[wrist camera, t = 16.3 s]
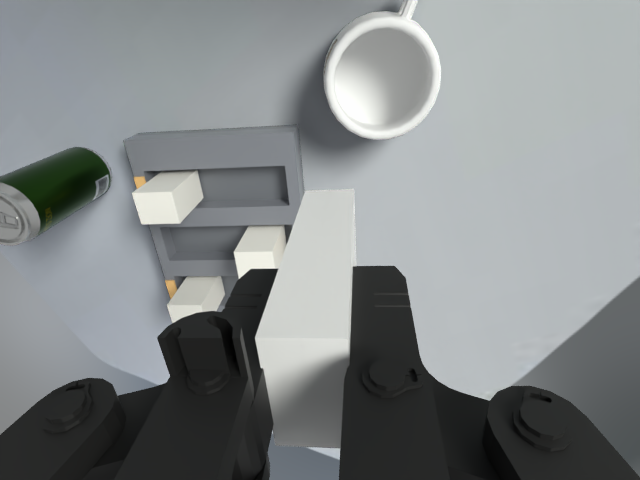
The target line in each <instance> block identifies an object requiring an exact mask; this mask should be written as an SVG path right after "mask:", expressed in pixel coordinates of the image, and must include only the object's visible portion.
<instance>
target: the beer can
mask: <svg viewBox="0 0 640 480" xmlns="http://www.w3.org/2000/svg"><path fill="white" fill-rule="evenodd" d="M111 179H112V174H111V169H110V167H109V165H108V163H107V162H106V160H105V159H104V158H103V157H102V156H101V155H100V154H98V153H97V152H95V151H93V150H90V149H87V148H81V147H74V148H69V149H67V150H64V151H62V152H59V153H57V154H54V155H52V156H50V157H47V158H45V159H42V160H40V161H37V162H35V163H32V164H30V165H28V166H25V167H23V168H20V169H18V170H15V171H13V172H10V173H8V174H6V175H3V176H1V177H0V244H1V245H8V246H13V245H18V244H20V243H22V242H27V241H31V240H32V239H34V238H35V237H37V236H38V235H40V234H41V233H43V232H45V231H46V230H48V229H49V228H51V227H52V226H54V225H56V224H57V223H59V222H60V221H62V220H63V219H65V218H66V217H68V216H70V215H71V214H73V213H74V212H76V211H77V210H79V209H81V208H82V207H84V206H85V205H87V204H88V203H90V202H91V201H93V200H95V199H96V198H98V197H99V196H101V195H102V194H104V193H105V192H107V190H108V188H109V187H110V184H111Z"/></svg>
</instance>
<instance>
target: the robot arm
mask: <svg viewBox="0 0 640 480" xmlns="http://www.w3.org/2000/svg"><path fill="white" fill-rule="evenodd" d="M157 339H158V342H159V345H160V347H161V350H162V353H163V356H164V359H165V362H166V365H167V368H168V371H169V374H170V378H169V379H168V381H167V383H165V384H162V385H159V386H156V387H152V388H148V389H144V390H140V391H136V392H132V393H127V394H123V395H119V396H117V394H116V392H115V390H114V387H113V385H112V384H111V383H109V382H107V381H106V380H104V379H98V378H86V379H82V380H78V381H73V382H71V383H68V384H66V385H64V386H62V387H60V388H58V389H56V390H54V391H52V392H51V393H50V394H48V395H47V396H45V397H44V398H43V399H41V400H40V401H38V402H37V403H36V404H35V405H34V406H33V407H31V408H30V409H29V410H28V411H27V412H26V413H25V414H23V415H22V416H21V417H20V418H19V419H18V420H17V421H15V422H14V423H13V424H12V425H11V426H10V427H9V428H7V429H6V430H5V431H4V432H3V433H2V434H1V435H0V480H269V477H270V462H269V458H268V453H267V452H268V447H269V443H270V438H271V434H272V430H273V435H274V440H275V445H276V446H298V447H322V448H341V450H340V470H339V480H640V477H639V476H638V475H637V474H636V472H635V471H634V470H633V469H632V468H631V467H630V466H629V464H628V463H627V462H626V461H625V460H624V459H623V458H622V456H621V455H620V454H619V453H618V452H617V451H616V450H615V448H614V447H613V446H612V445H611V444H610V443H609V442H608V441H607V439H606V438H605V437H604V436H603V435H602V434H601V433H600V431H599V430H598V429H597V428H596V427H595V426H594V424H593V423H592V422H591V421H590V420H589V419H588V418H587V416H585V415H584V414H583V413H582V412H581V411H580V410H578V409H577V408H576V407H575V406H574V405H573V404H572V403H571V402H569V401H567V400H566V399H564V398H562V397H560V396H558V395H556V394H554V393H552V392H550V391H547V390H543V389H540V388H536V387H532V386H511V387H508V388H506V389H503V390H501V391H498V392H497V393H496V394H495V395H494V397H493V398H492V399H491V400H490V401H488V400H485V399H481V398H478V397H474V396H471V395H467V394H464V393H461V392H458V391H456V390H453V389H450V388H448V387H447V386H445V385H443V384H442V383H440V382H438V381H437V380H436V379H435V378H434V377H433V376H432V375H430V374H429V373H428V371H427V370H426V368H425V367H424V365H423V364H422V361H421V358H420V355H419V350H418V344H417V338H416V333H415V327H414V322H413V316H412V311H411V308H410V300H409V295H408V289H407V283H406V278H405V277H404V276H403V275H402V274H401V272H400V271H399V270H398V269H397V268H396V267H395V266H356V238H355V204H354V189H339V190H308V191H305V193H304V196H303V199H302V202H301V205H300V207H299V210H298V213H297V216H296V219H295V222H294V225H293V228H292V231H291V234H290V237H289V240H288V243H287V245H286V248H285V251H284V254H283V257H282V260H281V263H280V266H279V269H250V270H249V271H248V272H247V273H245V274H244V275H243V276H242V277H241V278H240V279H238V280H237V282H236V284H235V286H234V288H233V290H232V292H231V294H230V297H229V298H228V300H227V302H226V304H225V309H223V310H222V312H217V311H207V312H198V313H194V314H192V315H189V316H186V317H183V318H181V319H179V320H177V321H176V322H174V323H173V324H171V325H169V326H168V327H167V328H166V329H165V330H164V331H163V332H162V333H161V334H160V335H159V336H158V337H157Z"/></svg>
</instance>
